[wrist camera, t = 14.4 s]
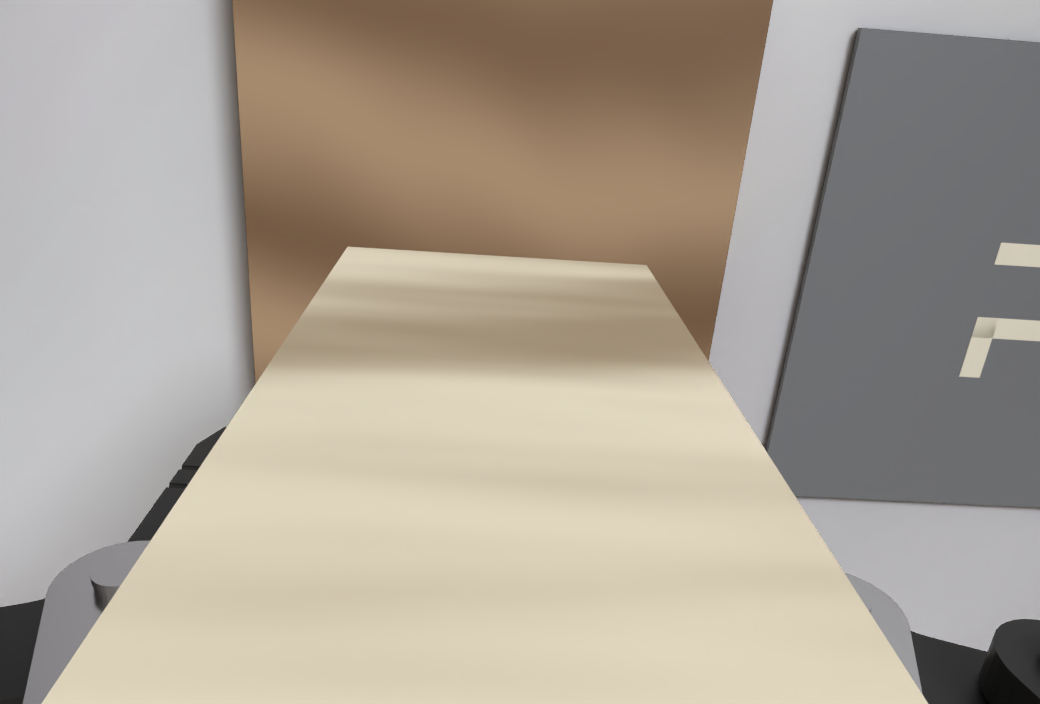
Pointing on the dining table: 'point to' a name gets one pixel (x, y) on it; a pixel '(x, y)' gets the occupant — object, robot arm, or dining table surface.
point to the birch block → (486, 516)
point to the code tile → (922, 283)
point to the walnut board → (493, 138)
